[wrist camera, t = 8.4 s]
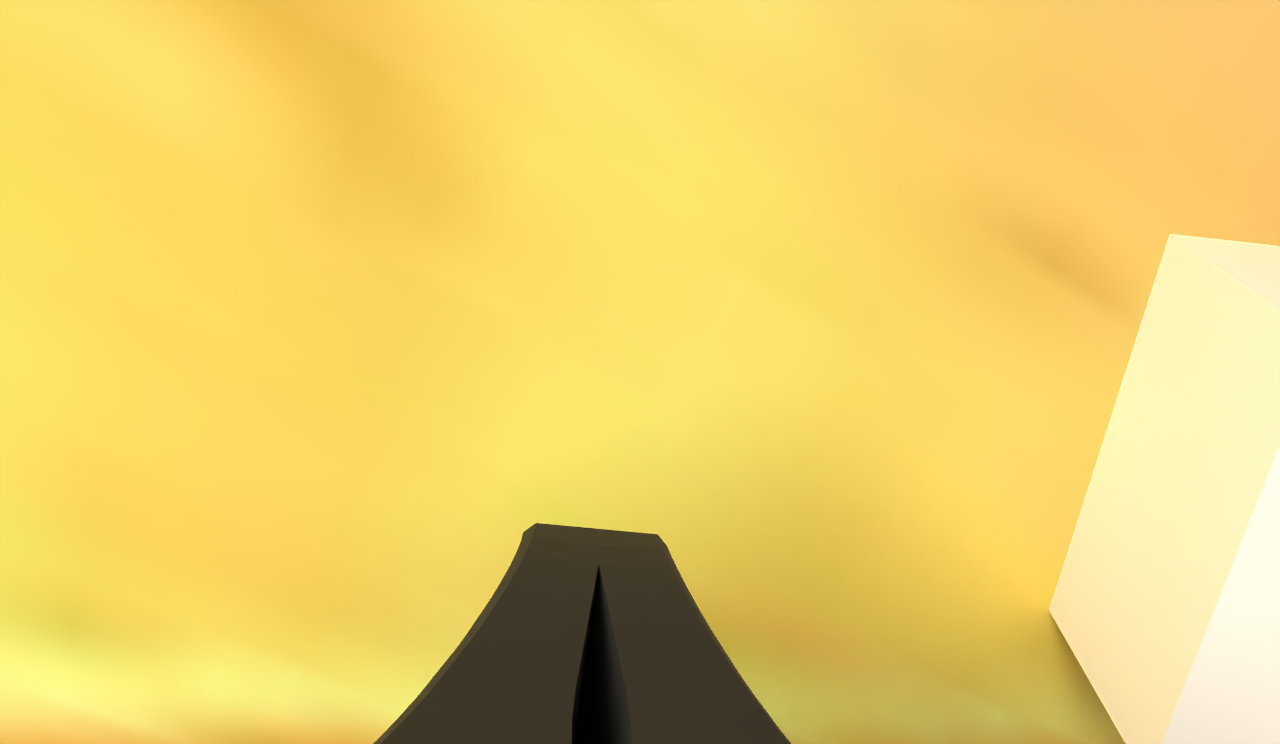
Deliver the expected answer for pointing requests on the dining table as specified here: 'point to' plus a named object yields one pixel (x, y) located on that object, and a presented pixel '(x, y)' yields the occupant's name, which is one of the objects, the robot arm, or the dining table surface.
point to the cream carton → (1188, 511)
